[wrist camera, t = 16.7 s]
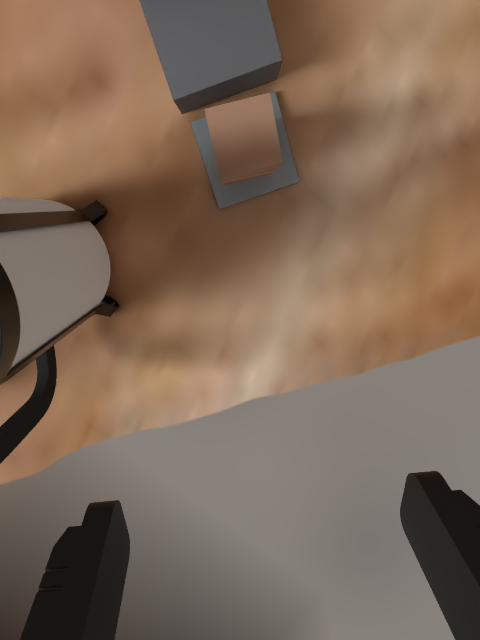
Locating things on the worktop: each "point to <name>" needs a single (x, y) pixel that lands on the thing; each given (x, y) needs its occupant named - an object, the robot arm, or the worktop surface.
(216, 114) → the wooden blank
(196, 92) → the charcoal shelf
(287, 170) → the slate-grey mat
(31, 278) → the coffee press
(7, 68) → the worktop surface
